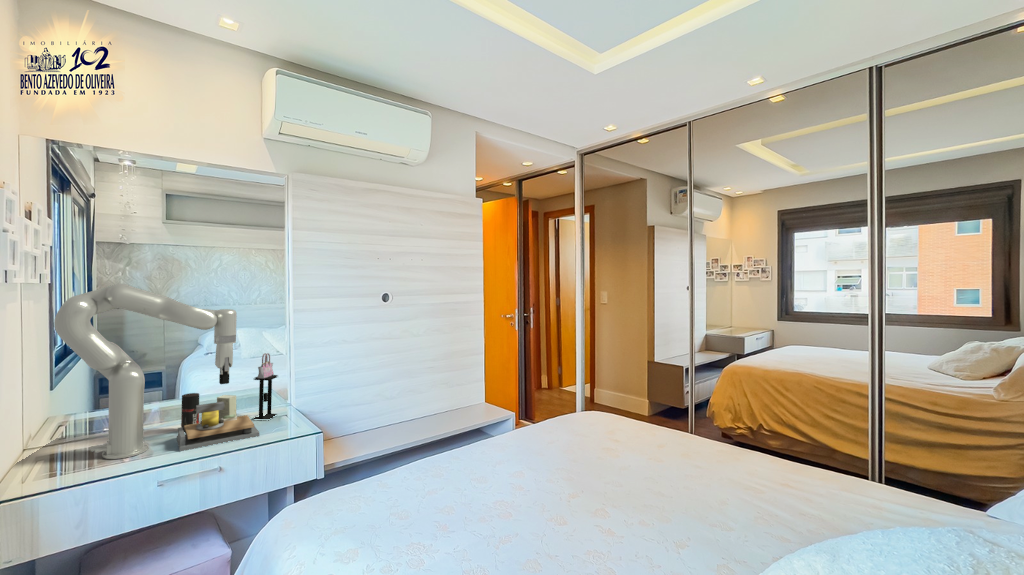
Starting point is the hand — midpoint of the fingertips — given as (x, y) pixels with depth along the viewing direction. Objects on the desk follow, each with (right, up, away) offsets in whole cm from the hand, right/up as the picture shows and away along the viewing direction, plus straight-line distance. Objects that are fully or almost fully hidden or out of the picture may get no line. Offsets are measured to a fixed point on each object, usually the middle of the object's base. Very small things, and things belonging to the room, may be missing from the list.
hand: (224, 383), depth 177 cm
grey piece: (0, -21, -4) cm, 22 cm away
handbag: (+5, -21, +22) cm, 30 cm away
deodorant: (-16, -21, +3) cm, 26 cm away
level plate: (+1, -17, -4) cm, 18 cm away
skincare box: (-7, -21, +12) cm, 25 cm away
